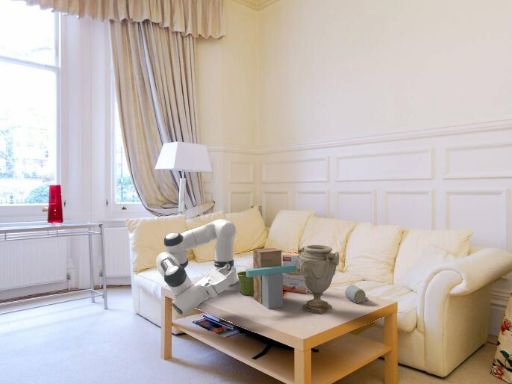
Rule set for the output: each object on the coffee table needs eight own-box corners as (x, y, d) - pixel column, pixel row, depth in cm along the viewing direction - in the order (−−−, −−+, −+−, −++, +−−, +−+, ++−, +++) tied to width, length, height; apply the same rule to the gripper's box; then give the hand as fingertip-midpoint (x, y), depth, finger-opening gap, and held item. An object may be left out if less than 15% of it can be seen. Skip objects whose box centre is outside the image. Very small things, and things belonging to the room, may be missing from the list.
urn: (350, 310, 173) (350, 247, 173) (327, 320, 161) (326, 252, 160) (310, 299, 191) (309, 242, 190) (286, 307, 178) (285, 246, 178)
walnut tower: (253, 299, 193) (253, 249, 192) (274, 295, 198) (273, 247, 197) (261, 303, 185) (260, 252, 184) (282, 300, 190) (281, 250, 189)
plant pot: (262, 293, 203) (262, 272, 203) (247, 298, 195) (247, 277, 194) (247, 289, 211) (247, 269, 211) (232, 293, 203) (232, 273, 202)
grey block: (262, 304, 183) (261, 272, 183) (276, 302, 187) (276, 271, 186) (268, 308, 177) (268, 275, 177) (283, 306, 180) (282, 274, 180)
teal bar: (246, 275, 177) (246, 269, 177) (293, 270, 188) (293, 264, 188) (248, 277, 175) (248, 271, 175) (296, 271, 185) (296, 265, 185)
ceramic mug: (355, 304, 181) (355, 289, 181) (344, 300, 189) (344, 285, 189) (371, 302, 186) (372, 287, 186) (361, 297, 193) (361, 283, 193)
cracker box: (282, 291, 207) (281, 254, 207) (286, 288, 212) (286, 252, 212) (305, 294, 200) (305, 255, 200) (309, 291, 206) (309, 254, 205)
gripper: (202, 287, 178) (225, 270, 183) (216, 299, 159) (241, 279, 164) (196, 276, 176) (219, 260, 181) (209, 287, 158) (234, 268, 163)
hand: (230, 269), depth 173 cm, fingers open, 8 cm apart
